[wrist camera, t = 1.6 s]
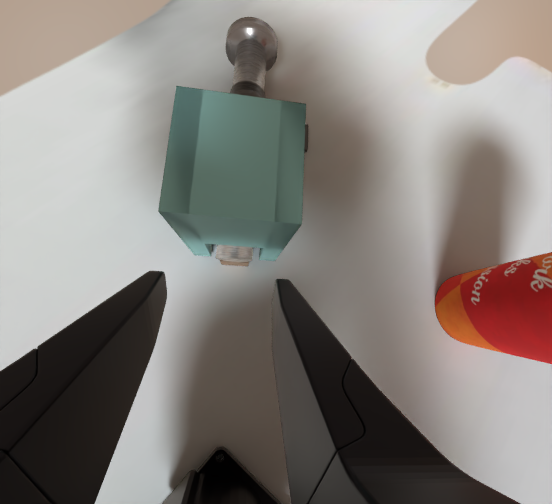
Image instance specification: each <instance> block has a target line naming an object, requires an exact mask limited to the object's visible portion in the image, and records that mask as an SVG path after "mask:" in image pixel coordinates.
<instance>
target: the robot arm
mask: <svg viewBox="0 0 552 504" xmlns="http://www.w3.org/2000/svg"><path fill="white" fill-rule="evenodd" d="M166 299H167V287H166V279H165V274H164V272H162V271H149V272H147V273H145V274H144V275H142V276H141V277H139V278H138V279H136V280H135V281H134V282H132V283H131V284H129V285H128V286H126V287H125V288H123V289H122V290H120V291H119V292H117V293H116V294H114V295H113V296H111V297H110V298H108V299H107V300H105V301H104V302H103V303H101V304H100V305H98V306H97V307H95V308H94V309H92V310H91V311H89V312H88V313H86V314H85V315H83V316H82V317H80V318H79V319H77V320H76V321H74V322H73V323H72V324H70V325H69V326H67V327H66V328H64V329H63V330H61V331H60V332H58V333H57V334H55V335H54V336H52V337H51V338H49V339H48V340H46V341H45V342H43V343H42V344H41V345H39V346H38V347H37V349H33V350H31V351H30V352H29V353H27V354H26V355H24V356H23V357H21V358H20V359H18V360H17V361H15V362H14V363H12V364H11V365H9V366H7V367H6V368H4V369H3V370H1V371H0V504H94V503H95V501H96V498H97V496H98V493H99V490H100V488H101V485H102V483H103V480H104V477H105V475H106V472H107V470H108V467H109V464H110V462H111V459H112V456H113V454H114V451H115V449H116V446H117V443H118V441H119V438H120V436H121V433H122V430H123V428H124V425H125V423H126V420H127V417H128V415H129V412H130V410H131V407H132V404H133V402H134V399H135V397H136V394H137V391H138V389H139V386H140V384H141V381H142V378H143V376H144V373H145V370H146V368H147V365H148V363H149V360H150V357H151V355H152V352H153V349H154V346H155V343H156V339H157V336H158V332H159V328H160V324H161V320H162V316H163V312H164V308H165V304H166ZM272 352H273V361H274V369H275V377H276V385H277V393H278V400H279V408H280V416H281V424H282V432H283V440H284V448H285V456H286V464H287V472H288V480H289V488H290V496H291V503H292V504H520V503H518V502H516V501H515V500H513V499H511V498H509V497H507V496H505V495H503V494H501V493H499V492H498V491H496V490H494V489H492V488H490V487H488V486H486V485H484V484H483V483H481V482H479V481H477V480H475V479H473V478H472V477H470V476H469V475H467V474H466V473H464V472H463V471H462V470H460V469H459V468H458V467H456V466H455V465H454V464H453V463H451V462H450V461H449V460H448V459H447V458H446V457H444V456H443V455H442V454H441V453H440V452H439V451H438V450H437V449H436V448H435V447H434V446H433V445H432V444H431V443H430V442H429V441H428V440H427V439H426V438H425V436H424V435H423V434H422V433H421V432H420V431H419V430H418V429H417V428H416V427H415V426H414V425H413V424H412V423H411V422H410V421H409V420H408V419H407V418H406V417H405V416H404V415H403V414H402V413H401V412H400V411H399V410H398V409H397V408H396V407H395V406H394V405H393V404H392V403H391V402H390V400H389V399H388V398H387V397H386V396H385V395H384V394H383V393H382V392H381V391H380V390H379V389H378V388H377V387H376V385H375V384H374V383H373V382H372V381H371V380H370V378H369V377H368V376H367V375H366V374H365V373H364V371H363V370H362V369H361V368H360V367H359V365H358V364H357V363H356V362H355V360H354V359H351V356H350V354H349V353H348V352H347V351H346V349H345V348H344V347H343V346H342V345H341V343H340V342H339V341H338V340H337V338H336V337H335V336H334V335H333V333H332V332H331V331H330V330H329V328H328V327H327V326H326V325H325V324H324V322H323V321H322V320H321V319H320V317H319V316H318V315H317V314H316V312H315V311H314V310H313V309H312V308H311V306H310V305H309V304H308V303H307V301H306V300H305V299H304V298H303V296H302V295H301V294H300V293H299V292H298V290H297V289H296V288H295V287H294V285H293V284H292V283H291V282H290V281H289V280H287V279H277V280H276V281H275V286H274V292H273V298H272ZM218 454H223V456H224V457H223V458H222V459H218V458H217V455H218ZM163 504H281V503H280V502H279V501H278V500H277V499H276V498H275V497H274V496H273V495H272V494H271V493H270V492H269V491H268V490H267V489H266V488H265V487H264V486H263V485H262V484H261V483H260V482H259V481H258V480H257V479H256V478H255V477H254V476H253V475H252V474H251V473H250V472H249V471H248V470H247V469H246V468H245V467H244V466H243V465H242V464H241V463H240V462H239V461H238V460H237V459H236V458H235V457H234V456H233V455H232V454H231V453H230V452H229V451H228V450H227V449H226V448H224V447H218V448H216V449H215V450H214V451H213V453H212V454H211V455H210V456H209V457H208V459H207V460H206V461H205V462H204V463H203V464H202V466H201V467H200V468H199V469H198V470H197V471H196V470H191V471H190V472H189V473H188V474H187V475H186V477H185V478H184V479H183V480H182V481H181V482H180V484H179V485H178V486H177V487H176V488H175V490H174V491H173V492H172V493H171V494H170V495H169V497H168V498H167V499H166V500H165V501H164V502H163Z"/></svg>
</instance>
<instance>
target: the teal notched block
mask: <svg viewBox="0 0 552 504" xmlns="http://www.w3.org/2000/svg"><path fill="white" fill-rule="evenodd" d="M305 118H306V104H303V103H296V102H289V101H281V100H274V99H267V98H260V97H253V96H246V95H238V94H231V93H224V92H217V91H210V90H203V89H195V88H188V87H181V86H176V93H175V100H174V107H173V114H172V121H171V127H170V134H169V141H168V148H167V155H166V162H165V169H164V176H163V183H162V189H161V196H160V203H159V210H158V211H159V213H160V214H161V215H162V216H163V217H164V219H165V220H166V221H167V222H168V224H169V225H170V226H171V227H172V228H173V230H174V231H175V232H176V233H177V234H178V236H179V237H180V238H181V239H182V240H183V242H184V243H185V244H186V245H187V246H188V248H189V249H190V250H191V251H192V253H193V254H194V255H201V256H211V251H212V244H217V245H230V246H243V247H256V248H260V253H259V260H269V261H275V260H276V258H277V257H278V256H279V254H280V253H281V252H282V250H283V249H284V248H285V246H286V245H287V244H288V242H289V241H290V239H291V238H292V237H293V235H294V234H295V233H296V231H297V230H298V229H299V227H300V226H301V225H302V206H303V176H304V147H305Z"/></svg>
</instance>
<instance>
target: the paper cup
mask: <svg viewBox="0 0 552 504" xmlns="http://www.w3.org/2000/svg"><path fill="white" fill-rule="evenodd" d="M435 311H436V315H437V318H438V321H439V323H440V325H441V326H442V328H443V329H444V330H445V331H446V333H447V334H449V335H450V336H451V337H452V338H454V339H456V340H458V341H460V342H463V343H466V344H469V345H473V346H477V347H481V348H485V349H490V350H494V351H498V352H502V353H506V354H511V355H515V356H519V357H524V358H528V359H532V360H537V361H541V362H545V363H550V364H552V252H551V253H547V254H542V255H538V256H534V257H530V258H525V259H521V260H517V261H513V262H508V263H504V264H500V265H496V266H492V267H488V268H483V269H479V270H475V271H471V272H468V273H464V274H460V275H457V276H454V277H451V278H449V279H447V280H446V281H445V282H444V283H443V284H442V285H441V286H440V288H439V289H438V292H437V294H436V298H435Z"/></svg>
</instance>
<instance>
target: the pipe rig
mask: <svg viewBox="0 0 552 504" xmlns="http://www.w3.org/2000/svg"><path fill="white" fill-rule="evenodd" d="M226 54H227V57H228V59H229V61H230V62H231V63H232V64H233V65H234V66H235V67H234V77H233V86H232V88H231V91H230V93H231V94H238V95H246V96H253V97H260V98H265V92H264V85H265V72H266V71H268V70H269V69H271V68H272V66H273V65H274V63H275V61H276V58H277V37H276V35H275V33H274V31H273V29H272V28H271V27H270V26H269V25H268V24H267V23H266V22H264V21H262V20H260V19H258V18H254V17H245V18H241V19H238V20H236V21H235V22H234V23H233V24H232V25H231V26H230V28H229V30H228V33H227V40H226ZM307 148H308V125H306V124H305V147H304V151H305V152H307ZM252 256H253V247H243V246H230V245H217V252H216V258H217V259H219V260H220V262H221V264H222V265H236V266H248V264H249V262H250V261H252Z"/></svg>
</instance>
